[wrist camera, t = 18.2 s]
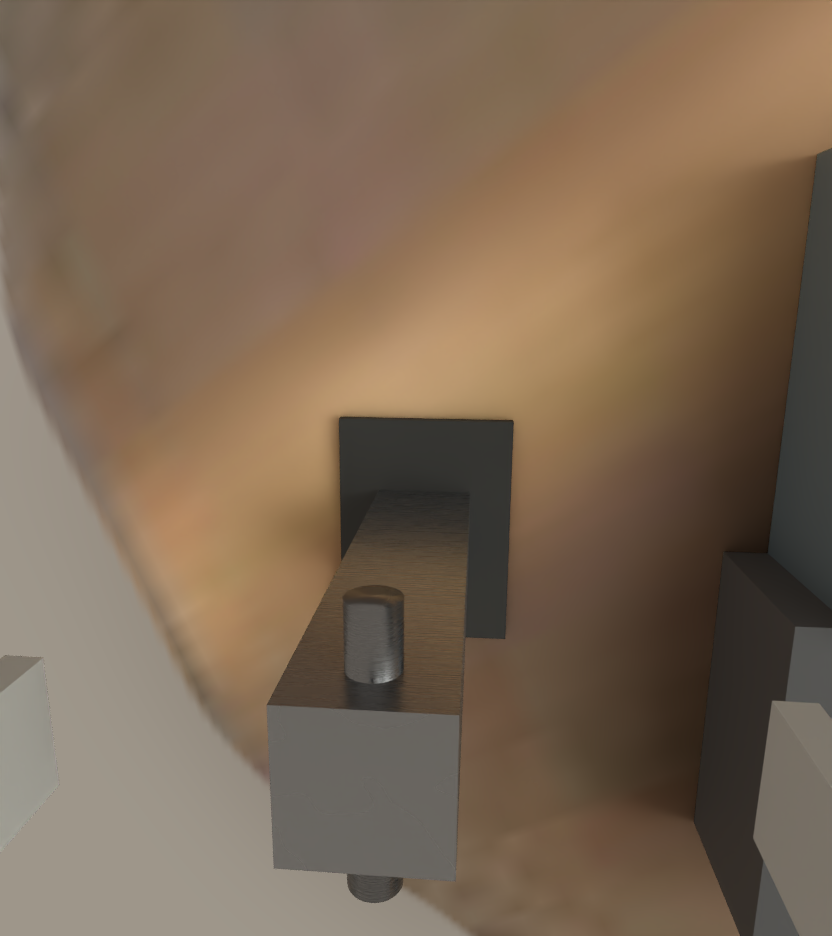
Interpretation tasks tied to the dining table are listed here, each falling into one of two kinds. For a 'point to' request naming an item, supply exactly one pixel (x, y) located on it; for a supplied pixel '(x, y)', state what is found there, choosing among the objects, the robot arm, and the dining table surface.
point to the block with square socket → (775, 606)
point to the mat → (439, 469)
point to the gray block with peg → (378, 705)
